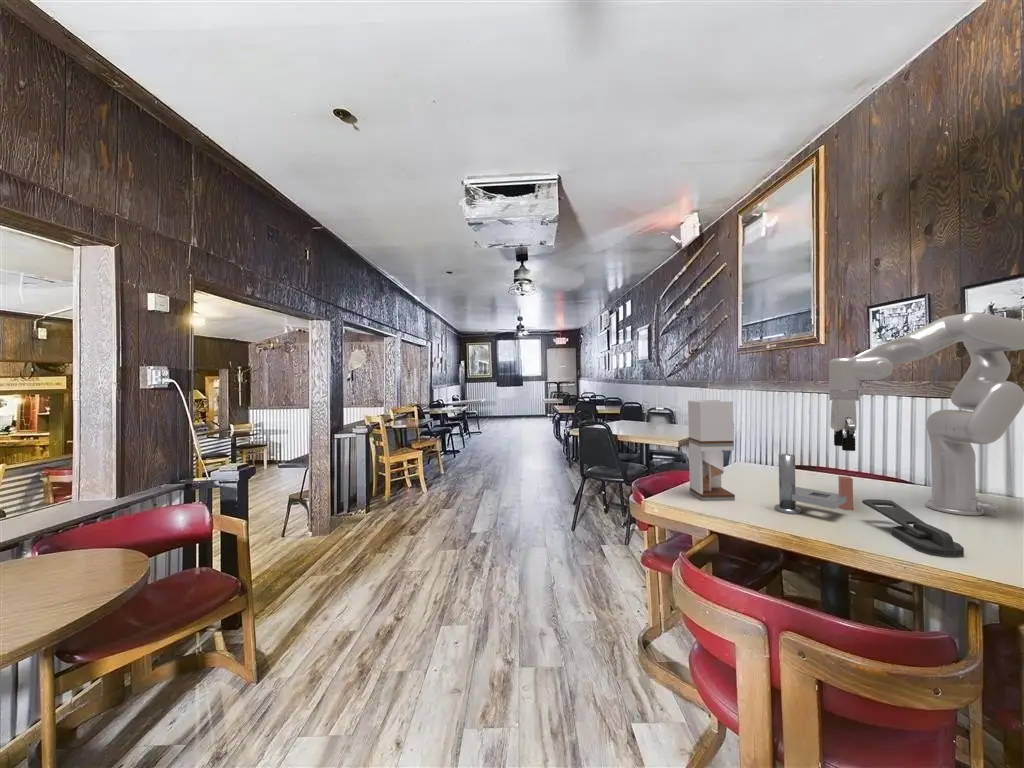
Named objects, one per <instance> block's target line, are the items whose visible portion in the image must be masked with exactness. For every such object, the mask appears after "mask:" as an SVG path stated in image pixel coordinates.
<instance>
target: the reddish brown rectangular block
mask: <svg viewBox="0 0 1024 768" xmlns="http://www.w3.org/2000/svg"><path fill="white" fill-rule="evenodd" d="M853 481H854V479H853V478H852V477H851V476H842V475H841V476H840V475H838V494H840V495H846V496H847V502H846V503H844V504H842V505H841V506H839V508H840V509H842V510H851V511H854V484H853V483H854V482H853Z"/></svg>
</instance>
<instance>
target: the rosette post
mask: <svg viewBox="0 0 1024 768" xmlns="http://www.w3.org/2000/svg"><path fill="white" fill-rule="evenodd" d="M778 497H779V498H778V499H779V500H778V501H779V504H778V503H777V504H775V505H774V510H775V511H776V512H778V513H782V514H787V515H801V514H802V510H801V508H800V507H798V506H796V505H797V504H796V503H797V502H798V503H802V504H807V505H814V506H817V507H818V506H819V507H824V508H827V509H837V508H838V507H839V506H841V505H842V504H844V503H846V502H847V496H846V495H840V494H839V493H833V492H828V491H822V490H817V489H810V488H806V487H799V486H796V455H794V454H791V453H778ZM839 508H840V507H839Z"/></svg>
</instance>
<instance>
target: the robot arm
mask: <svg viewBox="0 0 1024 768" xmlns="http://www.w3.org/2000/svg"><path fill="white" fill-rule="evenodd" d="M961 342H962V343H963V345H964V347H965V349H966V350H967V352H968V354H969V357H970V365H969V367H968V369H967V371H966V372H965V374H963V377H962V378H961V379H960V381H958V384H957V385H956V386H955V388H954V390H953V391H952V393H951V396H950V400H951V403H952V404H953V405H954V407H957V408H959V409H941V410H937V411H934V412H933V413H931V414H930V415H929V416H928V418H927V419H926V424H925V425H926V431H927V435H928V438H929V443H930V456H931V457H930V464H931V467H930V469H931V470H930V472H931V473H930V474H931V475H930V476H931V479H930V480H931V499H930V500H926V501H924V505H925V507H927V508H929V509H932V510H934V511H938V512H942V513H946V514H952V515H953V514H954V515H960V516H961V515H963V516H982V515H984V513H985V510H989V511H992V512H999V505H998V504H994V503H991V502H984V501H982V500H979V499H980V497H979V496H977V495H976V494H977V490H976V487H977V486H976V485H977V483H976V482H977V481H976V480H977V479H976V477H977V476H976V452H975V449H974V447H973V446H972V444H975V445H989V444H992V443H995V442H997V441H998V440H999V439H1000V438H1001V437H1002V436H1003V435H1005V432H1006V431H1007V430H1008V429H1009V427H1010V426H1011V424H1012V423H1013V421H1014V420H1015V419H1016V418H1017V415H1018V414H1019V413H1020V412H1021V410H1022V409H1023V406H1024V390H1023V388H1022V387H1021V386H1020V385H1019V384H1016V383H1015V382H1012V381H1007V380H1008V377H1009V376H1010V375H1011V370H1012V368H1011V364H1010V361H1009V359H1008V358H1007V356H1006V354H1005V352H1011V351H1012V352H1013V351H1020V350H1024V320H1021V319H1016V318H1010V317H1005V316H1001V315H996V314H991V313H990V314H989V313H986V312H985V313H984V312H979V311H978V312H966V313H961V314H953V315H948V316H944V317H941V318H938V319H936V320H934V321H932V322H930V323H928V324H926V325H924V326H922V327H920V328H917V329H916V330H914V331H911V332H910V333H908V334H906V335H903V336H901V337H898V338H895V339H892V340H890V341H887V342H885V343H882V344H879V345H877V346H875V347H872V348H869V349H867V350H864V351H863V352H860V353H859V354H857V355H854V356H852V357H838V358H836V357H835V358H831V359H830V360H829V363H828V372H829V373H828V387H829V388H828V390H829V395H828V398H829V401H831V406H830V407H831V408H830V421H829V422H830V424H829V425H830V428H831V429H832V430H833V446H835V447H841V450H842V451H843V452H844V451H845V452H855V451H856V431H857V425H858V424H857V422H858V421H857V406H856V402H857V401H858V402H859V401H860V381H863V380H864V381H878V380H879V381H880V380H883V379H885V378H888V377H889V376H890V375H892V373H893V371H894V365H897V364H898V365H899V364H903V363H910V362H914V361H918V360H921V359H922V360H923V359H924V358H926V357H929V356H931V355H933V354H934V353H936V352H938V351H941V350H943V349H945V348H947V347H950V346H951V345H953V344H957V343H961ZM961 409H962V410H961Z"/></svg>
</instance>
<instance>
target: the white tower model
mask: <svg viewBox="0 0 1024 768" xmlns="http://www.w3.org/2000/svg"><path fill="white" fill-rule="evenodd" d="M687 407H688V408H687V412H688V414H687V416H688V419H687V420H688V459H689V462H688V465H689V467H688V469H689V473H688V474H689V493H690V494H691V495H693V496H694V497H696V498H697V499H699V501H702V502H711V501H712V502H715V501H716V502H720V501H722V502H725V501H727V502H728V501H736V497H735V496H736V494H734V493H733V492H730V491H729V490H727V489H725V488H723V487H722V475H723V474H724V472H725V471H724V452H723V451H734V450H735V447H734V446H735V442H734V441H735V439H734V438H735V437H734V436H735V434H734V401H731V400H730V401H720V399H702V400H687Z"/></svg>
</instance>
